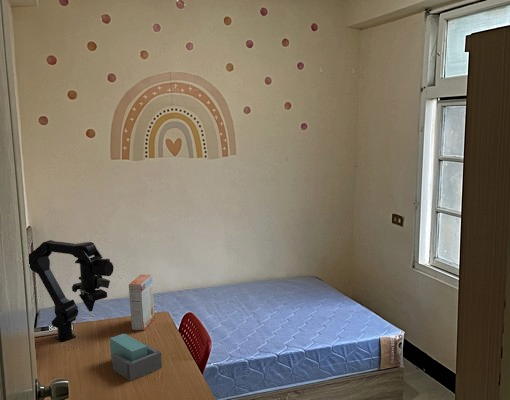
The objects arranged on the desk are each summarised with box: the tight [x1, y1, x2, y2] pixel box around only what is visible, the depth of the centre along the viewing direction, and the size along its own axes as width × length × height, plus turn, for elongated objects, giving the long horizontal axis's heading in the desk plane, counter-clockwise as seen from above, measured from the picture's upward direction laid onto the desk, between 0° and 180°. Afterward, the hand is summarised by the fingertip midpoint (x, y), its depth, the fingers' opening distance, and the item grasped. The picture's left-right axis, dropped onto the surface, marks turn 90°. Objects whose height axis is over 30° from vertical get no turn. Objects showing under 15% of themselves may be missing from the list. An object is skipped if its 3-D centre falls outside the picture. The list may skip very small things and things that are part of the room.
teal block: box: [109, 333, 147, 362], centre depth 183 cm, size 16×6×9 cm, turn 44°
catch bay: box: [111, 342, 163, 382], centre depth 180 cm, size 12×13×6 cm
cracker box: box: [128, 274, 155, 331], centre depth 219 cm, size 14×6×21 cm, turn 172°
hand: (90, 311), depth 202 cm, fingers closed
